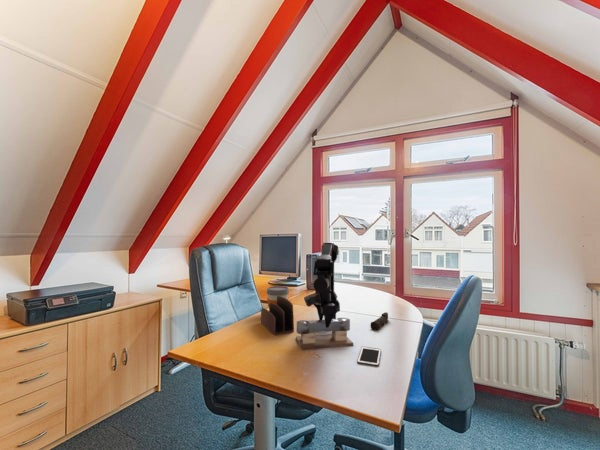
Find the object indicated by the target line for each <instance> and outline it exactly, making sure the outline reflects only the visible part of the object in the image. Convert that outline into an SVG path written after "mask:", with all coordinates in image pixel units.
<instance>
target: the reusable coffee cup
mask: <svg viewBox="0 0 600 450" xmlns="http://www.w3.org/2000/svg"><path fill="white" fill-rule="evenodd" d="M289 293H290V290H289V287H287V286H284V285H282V286H281V285H276V286H275V285H272V286H269V287H267V288H266V295H267V298H266V299H267V307H268V308H269V303H270V302H272V303H274V304H276V305H277V296H281V297H283V298H285V299H287V300H288V301H289Z"/></svg>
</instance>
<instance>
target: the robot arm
mask: <svg viewBox="0 0 600 450" xmlns="http://www.w3.org/2000/svg"><path fill="white" fill-rule="evenodd" d="M320 252H321V253H320V254H321V255H318V256H317V257H316V260H315V261H314V267H313V276H316V278H315V280H314V281H313V283H312V284H313V285H312V286H313V288H314V290H315V292H314V293H310V294H308V295H305V296H304V297H303V299H304V302H305V305H306V306H307V307H311V306H314V307H315V308H316V311H317V315H318V320H325V326H326V328H328V327H329V325H330V323H331V321H332V319H337V313H338V312H341V307H340V306H341V304H340V301H339V299H338V295H337V293H336V292H335V262H336V260H337V259H338V256H339V253H340V252H339V246H338V245H337V244H334V242H332V241H324V242H323V243H322V245H321V248H320Z"/></svg>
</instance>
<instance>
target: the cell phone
mask: <svg viewBox="0 0 600 450" xmlns="http://www.w3.org/2000/svg"><path fill="white" fill-rule="evenodd" d="M381 354H382V349H381V348H376V347H369V346H361V348H360V351H359V354H358V357H357V361H356V363H357V364H358V365H364V366H370V367H375V368H376V367H379V366H380V361H381Z"/></svg>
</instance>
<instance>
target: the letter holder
mask: <svg viewBox="0 0 600 450" xmlns="http://www.w3.org/2000/svg"><path fill="white" fill-rule="evenodd" d="M260 323H261V324H262V325H263V326H264V327H265V328H266V329H267V330H268V331H269V332H270V333H271V334H273V335H274V336H278V335H285V334H289V333H294V332H295V328H294V327H295V324H294V305H293V303H292V302H291V301H290V300H289V299H288V300H287V299H285V298H283V297H281V296H277V305H276V304H274V303H272V302H270V303H269V307H268V309H267V308H264V307H261V309H260Z"/></svg>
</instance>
